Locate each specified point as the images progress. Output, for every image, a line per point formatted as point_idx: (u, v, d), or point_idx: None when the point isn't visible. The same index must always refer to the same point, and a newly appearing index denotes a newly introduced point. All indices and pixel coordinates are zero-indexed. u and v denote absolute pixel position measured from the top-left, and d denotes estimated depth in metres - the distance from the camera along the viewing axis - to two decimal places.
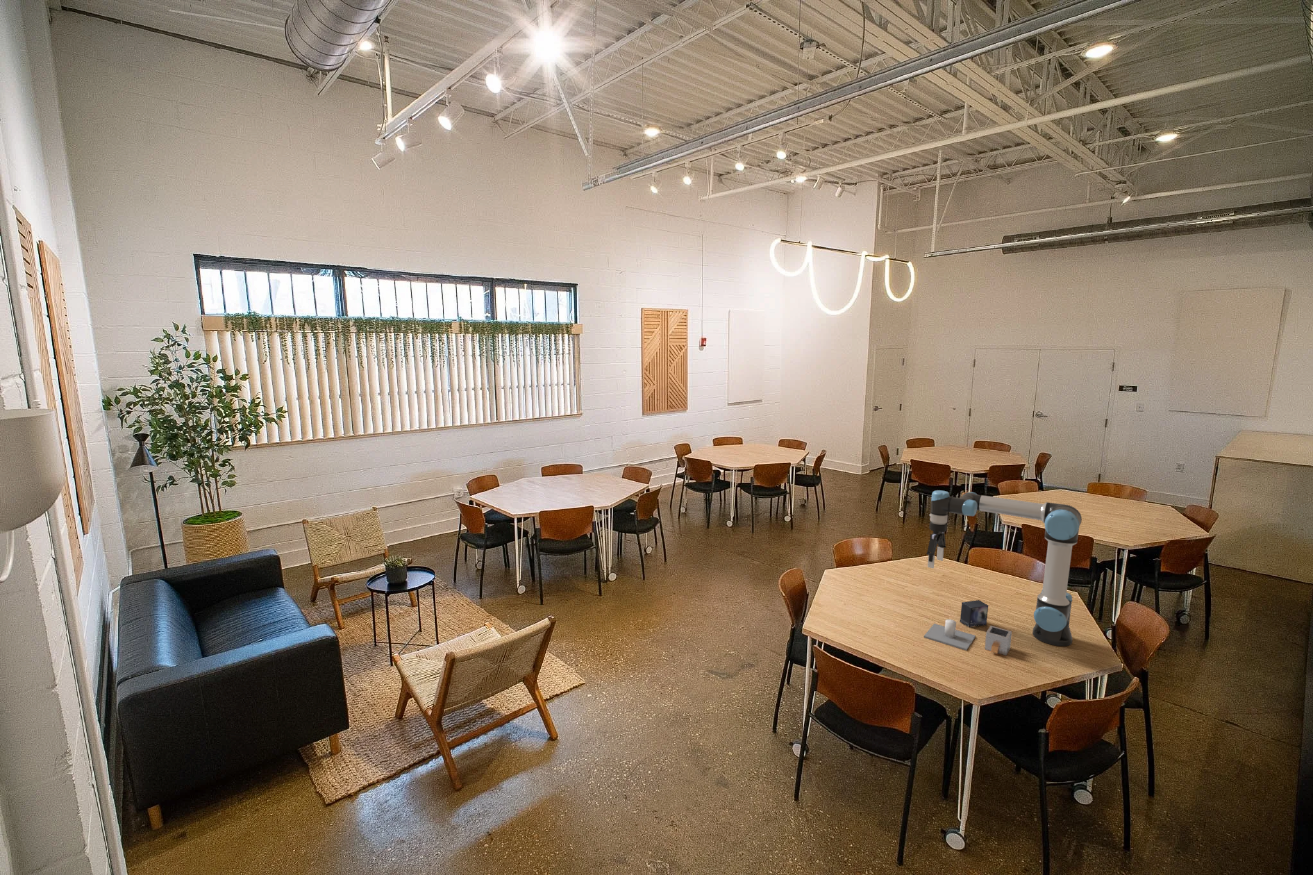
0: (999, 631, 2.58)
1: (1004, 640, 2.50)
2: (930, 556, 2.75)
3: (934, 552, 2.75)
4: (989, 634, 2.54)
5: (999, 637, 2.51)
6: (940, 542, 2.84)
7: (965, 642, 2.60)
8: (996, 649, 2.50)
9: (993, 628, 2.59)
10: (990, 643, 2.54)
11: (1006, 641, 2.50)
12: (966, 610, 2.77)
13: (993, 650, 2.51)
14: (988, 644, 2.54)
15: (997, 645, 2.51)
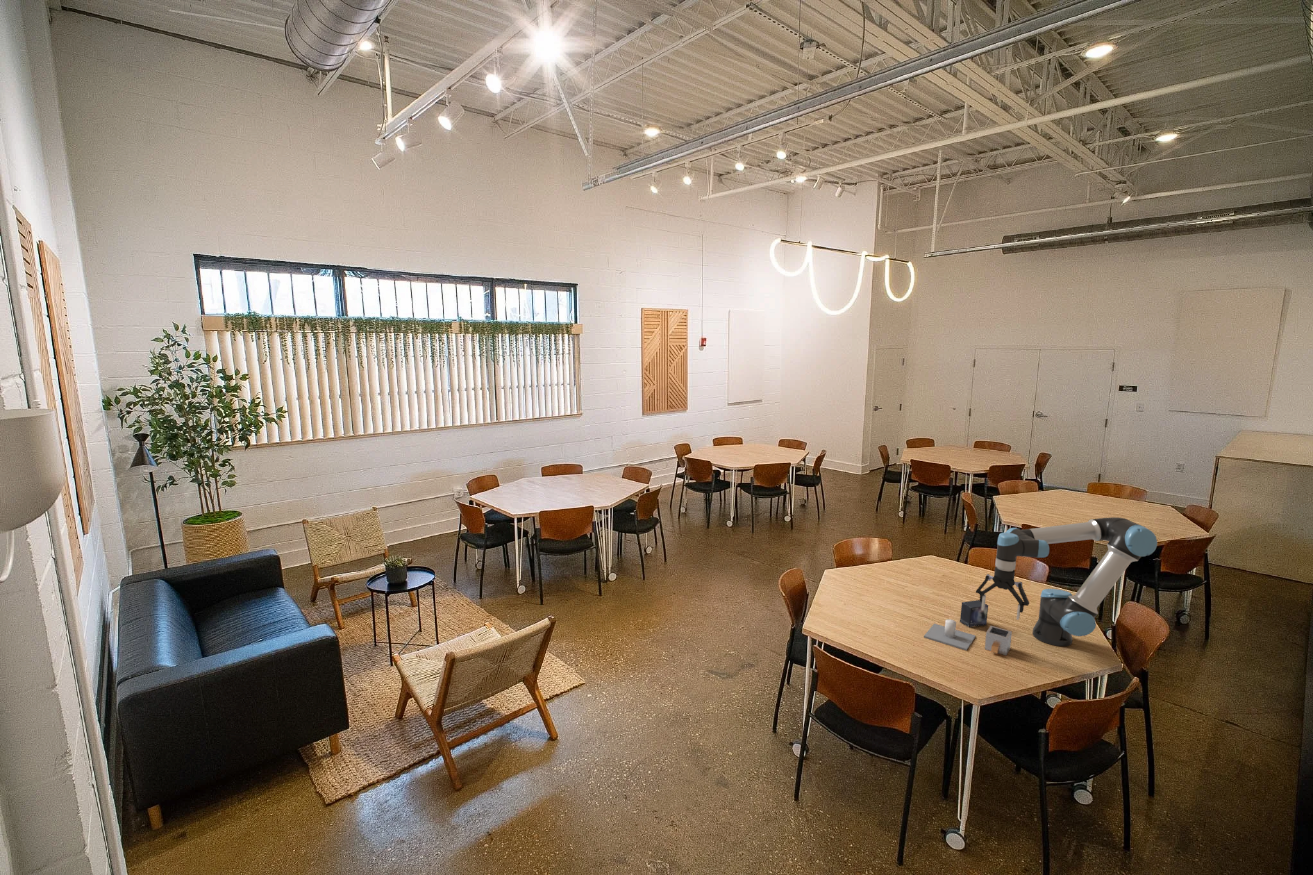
0: (999, 631, 2.58)
1: (1004, 640, 2.50)
2: None
3: (983, 593, 2.56)
4: (989, 634, 2.54)
5: (999, 637, 2.51)
6: None
7: (965, 642, 2.60)
8: (996, 649, 2.50)
9: (993, 628, 2.59)
10: (990, 643, 2.54)
11: (1006, 641, 2.50)
12: (966, 610, 2.77)
13: (993, 650, 2.51)
14: (988, 644, 2.54)
15: (997, 645, 2.51)
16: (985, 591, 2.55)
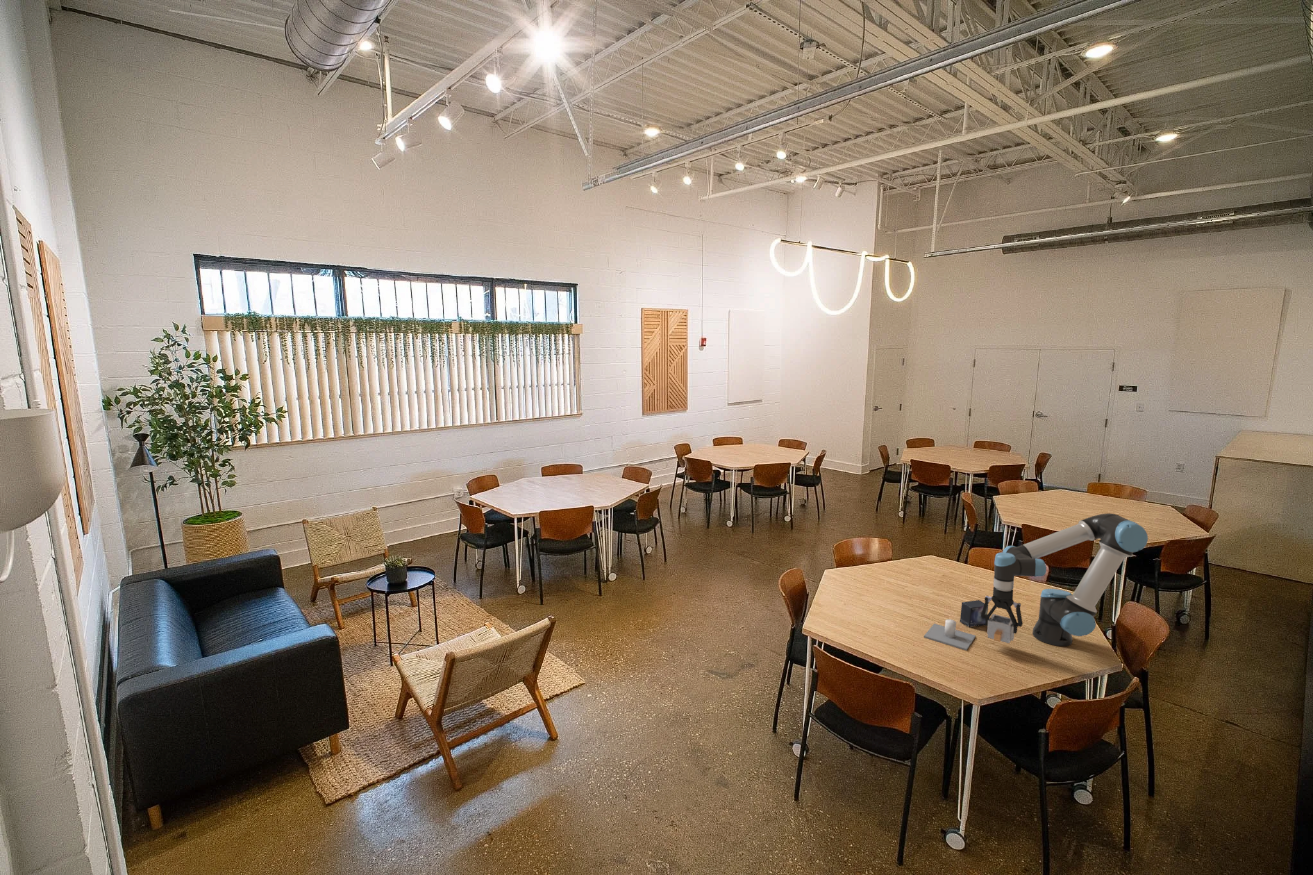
0: (1001, 619, 2.57)
1: (1007, 628, 2.49)
2: None
3: (988, 616, 2.56)
4: (991, 622, 2.53)
5: (1001, 625, 2.50)
6: None
7: (965, 642, 2.60)
8: (999, 637, 2.49)
9: (995, 616, 2.58)
10: (993, 631, 2.53)
11: (1009, 629, 2.49)
12: (966, 610, 2.77)
13: (996, 638, 2.50)
14: (991, 632, 2.54)
15: (1000, 633, 2.50)
16: (989, 614, 2.56)
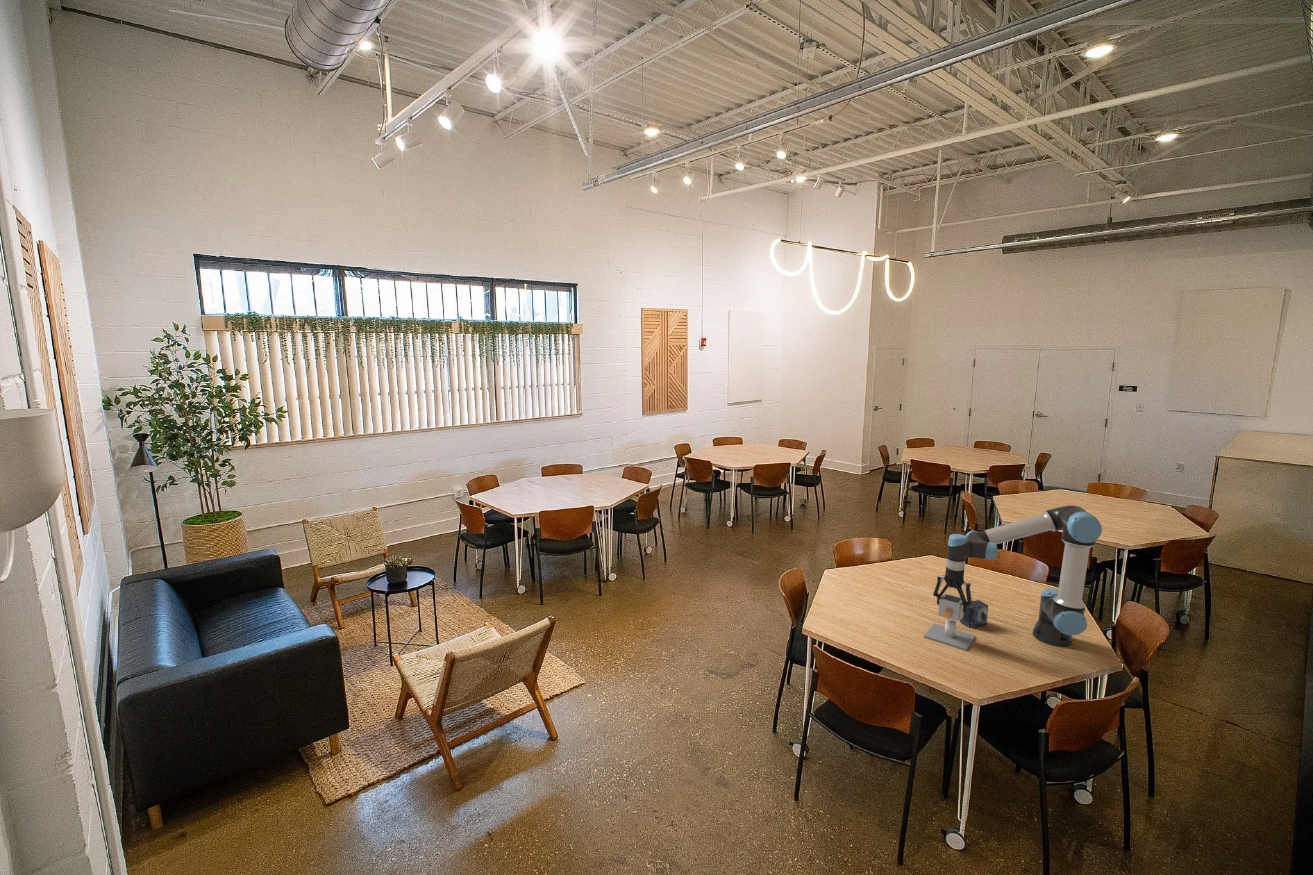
0: (953, 598, 2.66)
1: (956, 606, 2.58)
2: None
3: (940, 595, 2.65)
4: (942, 600, 2.62)
5: (951, 603, 2.60)
6: None
7: (965, 642, 2.60)
8: (948, 615, 2.58)
9: (947, 595, 2.68)
10: (943, 609, 2.62)
11: (958, 607, 2.58)
12: (966, 611, 2.77)
13: (945, 616, 2.59)
14: (941, 610, 2.63)
15: (949, 611, 2.60)
16: (941, 593, 2.65)
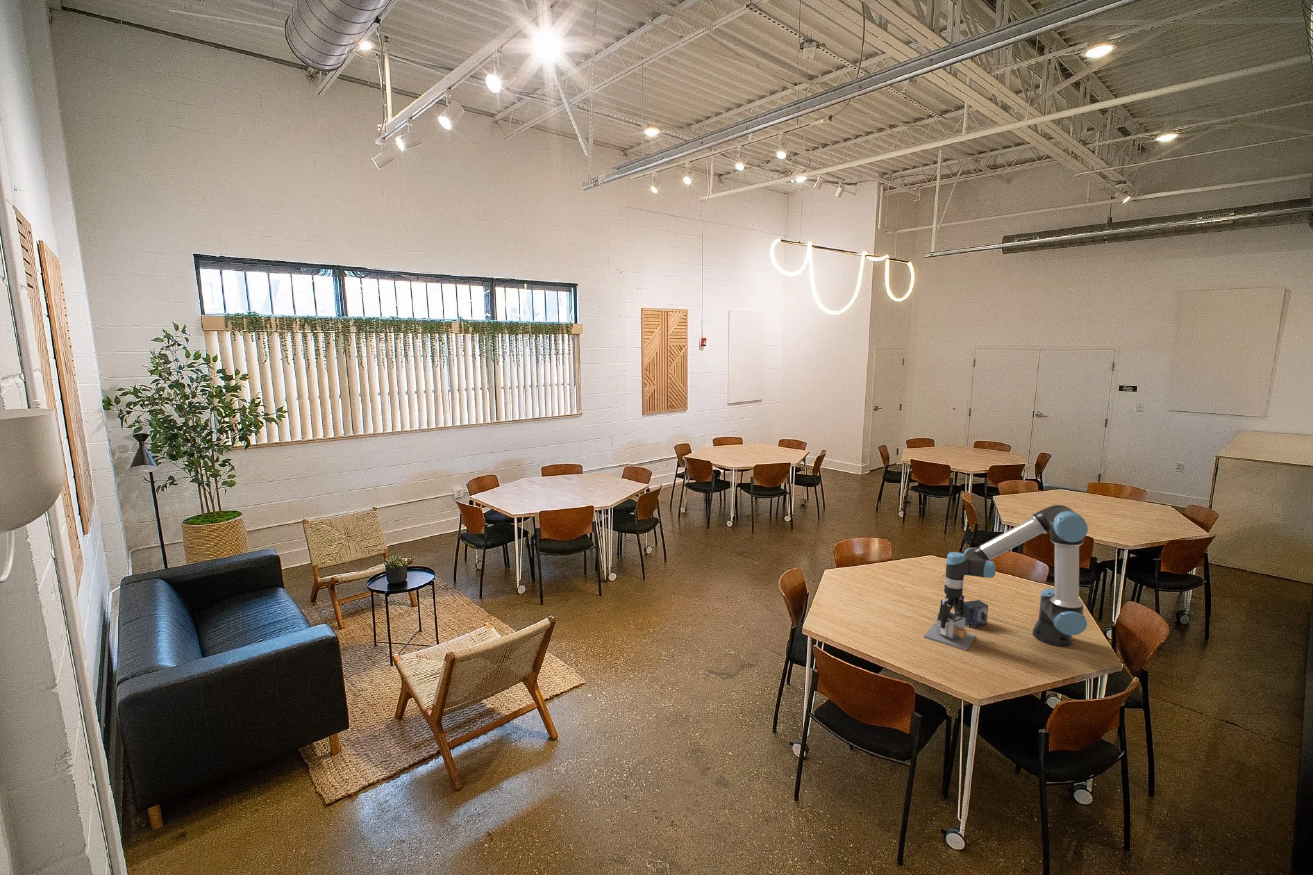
0: None
1: (963, 621, 2.62)
2: (942, 622, 2.62)
3: (946, 618, 2.61)
4: (955, 622, 2.60)
5: (960, 621, 2.61)
6: (956, 609, 2.65)
7: (965, 642, 2.60)
8: (965, 633, 2.59)
9: None
10: (955, 630, 2.61)
11: (964, 621, 2.63)
12: (966, 610, 2.77)
13: (964, 635, 2.59)
14: (954, 632, 2.60)
15: (962, 629, 2.61)
16: (947, 616, 2.61)
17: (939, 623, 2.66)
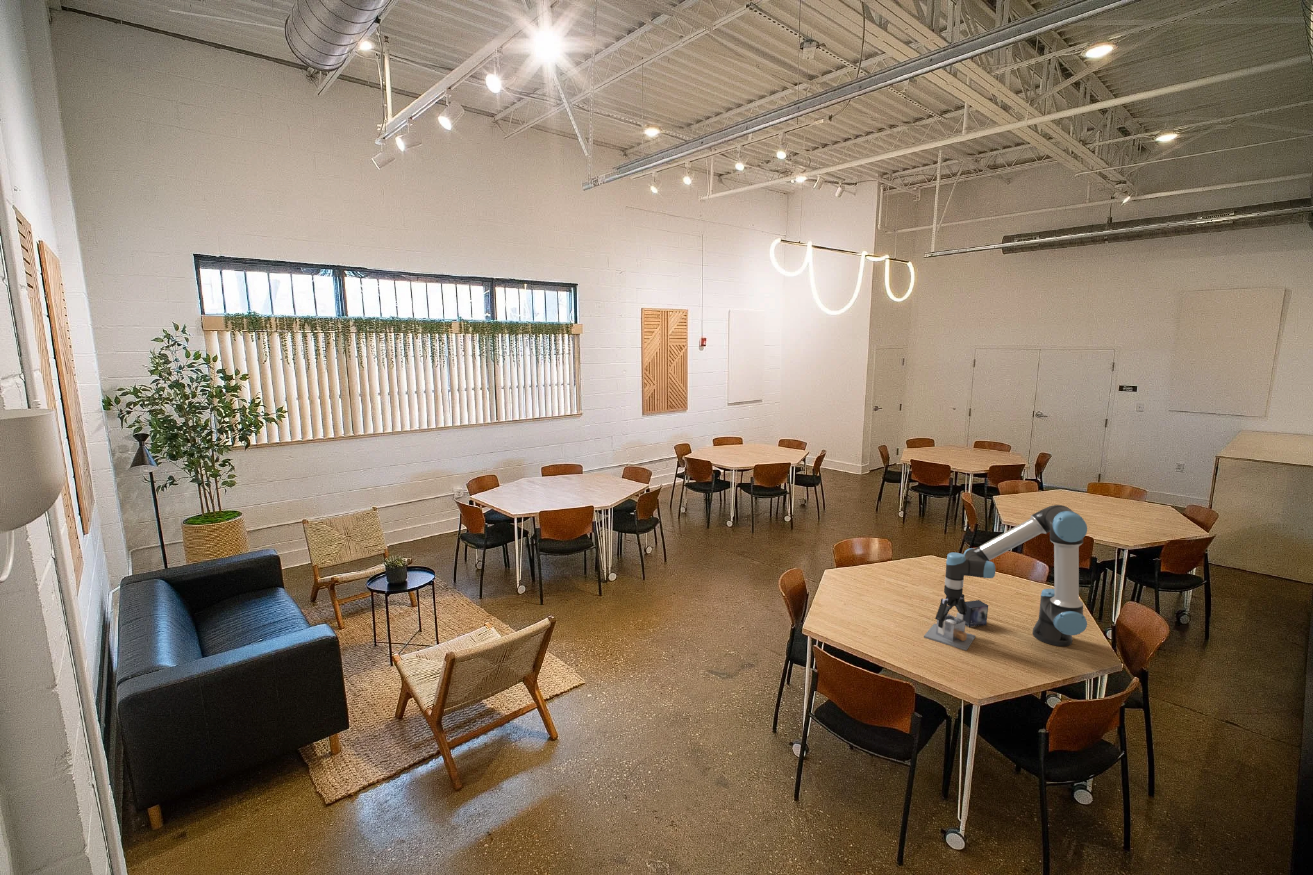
0: None
1: (963, 624, 2.63)
2: (939, 621, 2.61)
3: (944, 618, 2.60)
4: (955, 625, 2.60)
5: (960, 624, 2.62)
6: (958, 608, 2.66)
7: (965, 642, 2.60)
8: (966, 636, 2.60)
9: None
10: (955, 633, 2.61)
11: (964, 624, 2.63)
12: None
13: (964, 638, 2.59)
14: (954, 635, 2.61)
15: (962, 632, 2.61)
16: (945, 615, 2.60)
17: None
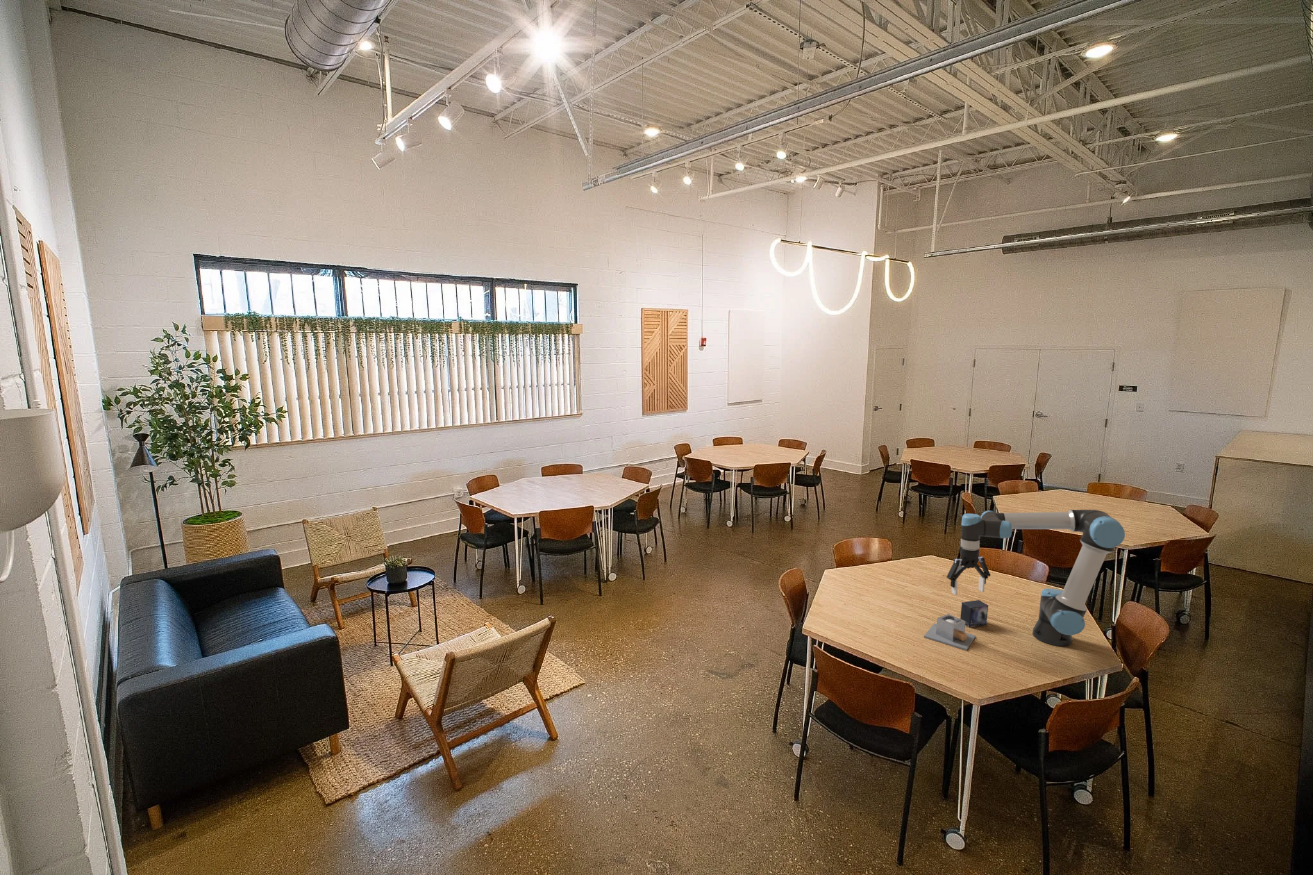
0: (944, 619, 2.68)
1: (963, 624, 2.63)
2: (951, 581, 2.61)
3: (956, 578, 2.59)
4: (955, 625, 2.60)
5: (960, 624, 2.62)
6: (978, 571, 2.62)
7: (965, 642, 2.60)
8: (966, 636, 2.60)
9: None
10: (955, 633, 2.61)
11: (964, 624, 2.63)
12: (966, 610, 2.77)
13: (964, 638, 2.59)
14: (954, 635, 2.61)
15: (962, 632, 2.61)
16: (957, 575, 2.59)
17: (939, 626, 2.66)
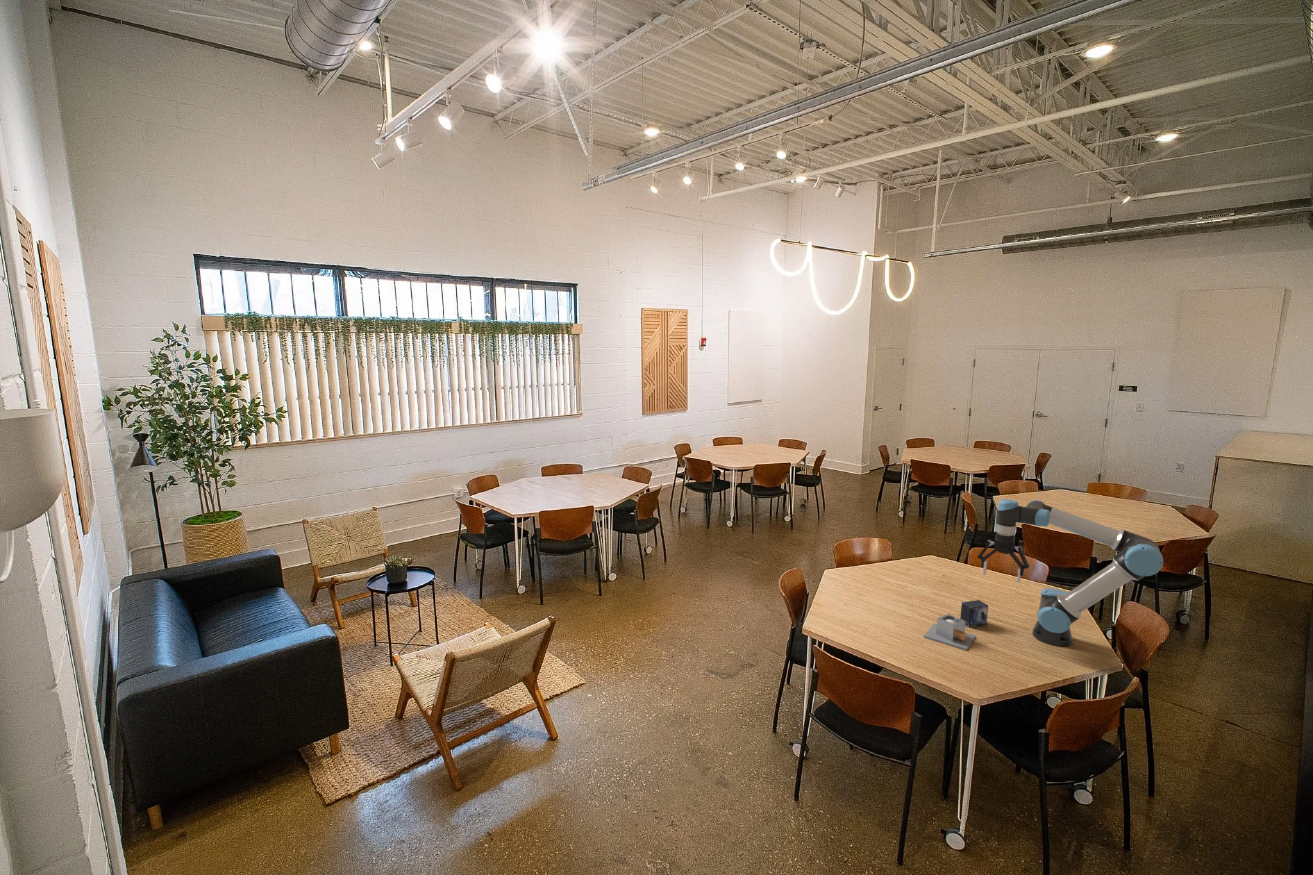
0: (944, 619, 2.68)
1: (963, 624, 2.63)
2: None
3: (985, 558, 2.65)
4: (955, 625, 2.60)
5: (960, 624, 2.62)
6: None
7: (965, 642, 2.60)
8: (966, 636, 2.60)
9: None
10: (955, 633, 2.61)
11: (964, 624, 2.63)
12: (966, 610, 2.77)
13: (964, 638, 2.59)
14: (954, 635, 2.61)
15: (962, 632, 2.61)
16: (986, 556, 2.64)
17: (939, 626, 2.66)
